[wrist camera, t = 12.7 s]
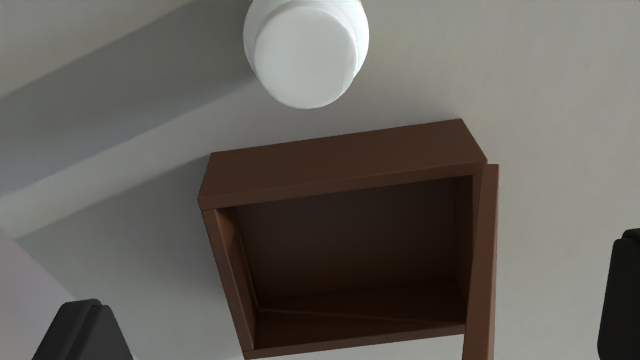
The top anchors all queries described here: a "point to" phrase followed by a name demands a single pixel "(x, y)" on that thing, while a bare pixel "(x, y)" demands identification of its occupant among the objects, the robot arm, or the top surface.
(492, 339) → the brown drawer front
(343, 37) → the supplement bottle
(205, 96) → the top surface
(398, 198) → the brown box
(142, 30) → the top surface
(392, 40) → the top surface
